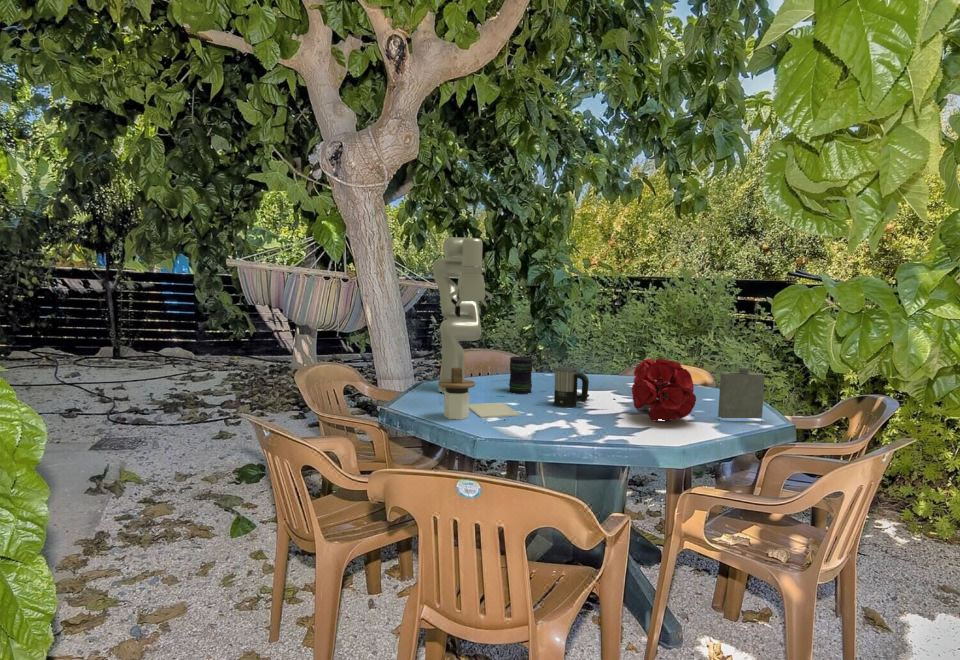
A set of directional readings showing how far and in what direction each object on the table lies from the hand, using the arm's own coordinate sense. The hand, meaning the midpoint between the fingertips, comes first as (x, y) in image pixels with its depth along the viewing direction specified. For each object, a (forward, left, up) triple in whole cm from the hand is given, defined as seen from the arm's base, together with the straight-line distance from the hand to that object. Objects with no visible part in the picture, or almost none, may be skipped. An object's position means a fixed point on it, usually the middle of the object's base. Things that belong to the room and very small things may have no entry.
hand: (470, 316), depth 234 cm
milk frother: (+2, +42, -35) cm, 55 cm away
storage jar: (-24, +30, -35) cm, 52 cm away
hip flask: (+40, +92, -35) cm, 107 cm away
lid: (+14, -9, -23) cm, 29 cm away
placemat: (+7, +7, -35) cm, 37 cm away
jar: (+14, -9, -35) cm, 39 cm away
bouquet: (+31, +64, -35) cm, 79 cm away
